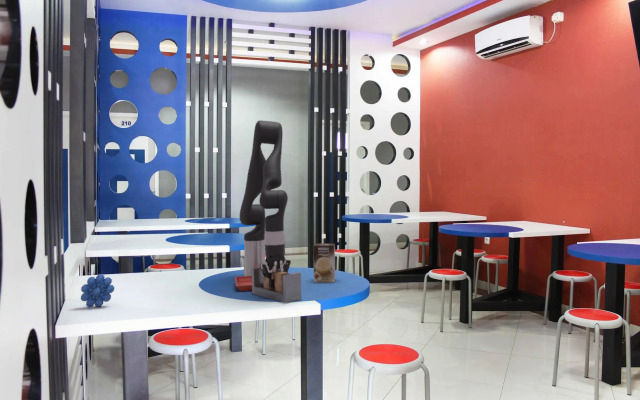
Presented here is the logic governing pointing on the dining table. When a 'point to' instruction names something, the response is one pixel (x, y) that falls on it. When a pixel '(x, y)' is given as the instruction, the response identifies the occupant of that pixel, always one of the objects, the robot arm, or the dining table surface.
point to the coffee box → (324, 263)
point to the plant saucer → (244, 283)
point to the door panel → (276, 281)
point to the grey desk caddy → (288, 295)
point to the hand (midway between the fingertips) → (276, 287)
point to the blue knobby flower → (97, 290)
